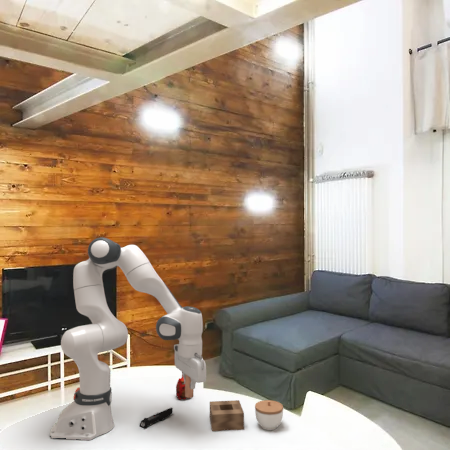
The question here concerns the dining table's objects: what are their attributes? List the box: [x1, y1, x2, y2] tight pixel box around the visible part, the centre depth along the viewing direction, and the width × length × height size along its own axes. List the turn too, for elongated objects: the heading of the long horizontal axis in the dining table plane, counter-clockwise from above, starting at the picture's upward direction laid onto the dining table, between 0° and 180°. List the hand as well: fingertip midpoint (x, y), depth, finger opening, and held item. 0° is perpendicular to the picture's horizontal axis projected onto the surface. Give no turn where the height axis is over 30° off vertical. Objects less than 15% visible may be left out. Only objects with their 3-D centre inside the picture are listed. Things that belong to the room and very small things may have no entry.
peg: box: [185, 375, 195, 399], centre depth 149 cm, size 3×3×10 cm
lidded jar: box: [254, 399, 284, 431], centre depth 149 cm, size 11×11×9 cm
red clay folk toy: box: [175, 371, 193, 401], centre depth 177 cm, size 8×7×15 cm
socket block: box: [209, 400, 245, 432], centre depth 152 cm, size 12×12×6 cm
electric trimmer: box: [138, 407, 174, 430], centre depth 154 cm, size 4×16×3 cm, turn 141°
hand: (189, 386), depth 149 cm, fingers closed on peg, 3 cm apart
